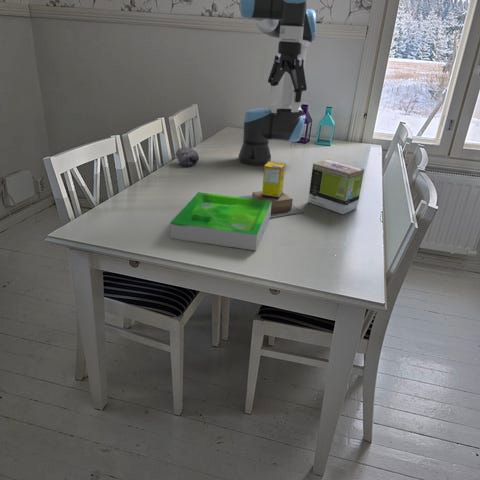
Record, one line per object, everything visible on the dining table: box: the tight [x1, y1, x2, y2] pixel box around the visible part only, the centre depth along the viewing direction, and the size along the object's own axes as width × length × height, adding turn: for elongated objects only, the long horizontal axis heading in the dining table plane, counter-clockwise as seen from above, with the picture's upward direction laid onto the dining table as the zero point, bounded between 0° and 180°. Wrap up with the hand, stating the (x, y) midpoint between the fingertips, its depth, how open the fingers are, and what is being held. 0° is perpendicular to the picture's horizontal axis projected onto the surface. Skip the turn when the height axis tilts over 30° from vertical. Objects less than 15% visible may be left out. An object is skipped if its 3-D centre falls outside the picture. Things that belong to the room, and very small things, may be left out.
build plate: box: [240, 190, 304, 220], centre depth 146 cm, size 20×16×4 cm
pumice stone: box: [175, 146, 200, 168], centre depth 183 cm, size 10×8×10 cm
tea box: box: [308, 159, 365, 215], centre depth 147 cm, size 15×10×15 cm, turn 45°
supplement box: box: [261, 161, 286, 199], centre depth 141 cm, size 6×6×11 cm
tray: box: [170, 191, 272, 251], centre depth 128 cm, size 25×25×5 cm
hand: (283, 108), depth 146 cm, fingers open, 13 cm apart
